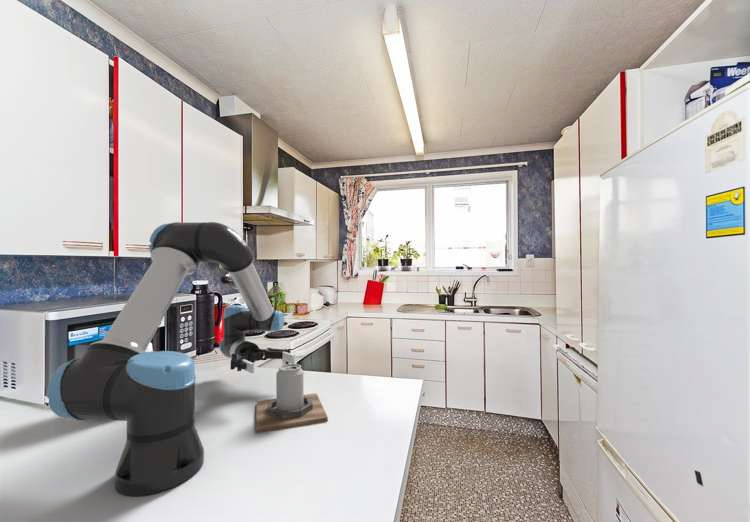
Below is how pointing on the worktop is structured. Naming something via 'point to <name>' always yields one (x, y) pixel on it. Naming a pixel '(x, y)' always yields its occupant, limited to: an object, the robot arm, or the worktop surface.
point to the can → (289, 387)
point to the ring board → (289, 414)
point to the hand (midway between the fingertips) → (274, 363)
